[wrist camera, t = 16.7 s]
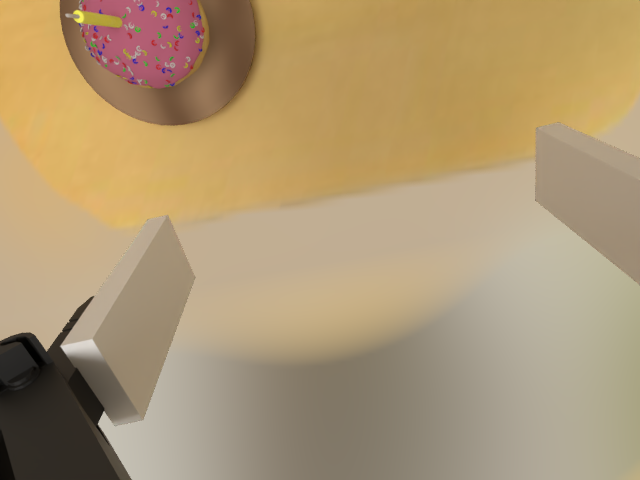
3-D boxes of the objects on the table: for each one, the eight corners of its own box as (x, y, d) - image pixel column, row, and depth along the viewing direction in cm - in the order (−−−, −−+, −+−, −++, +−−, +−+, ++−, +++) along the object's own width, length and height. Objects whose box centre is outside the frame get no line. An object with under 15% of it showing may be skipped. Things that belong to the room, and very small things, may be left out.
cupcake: (118, 88, 36) (47, 100, 25) (93, -31, 33) (-2, -77, 22) (222, 82, 37) (197, 91, 26) (208, -36, 34) (172, -83, 22)
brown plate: (234, -87, 35) (230, -100, 32) (271, 106, 41) (271, 109, 38) (47, -56, 35) (27, -67, 32) (111, 133, 40) (99, 138, 38)
